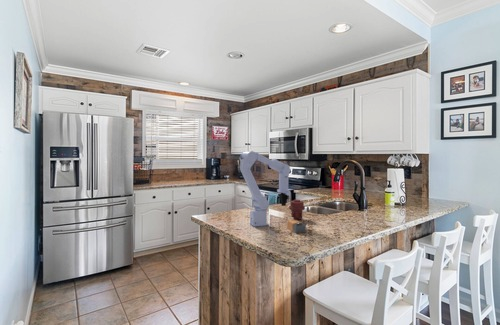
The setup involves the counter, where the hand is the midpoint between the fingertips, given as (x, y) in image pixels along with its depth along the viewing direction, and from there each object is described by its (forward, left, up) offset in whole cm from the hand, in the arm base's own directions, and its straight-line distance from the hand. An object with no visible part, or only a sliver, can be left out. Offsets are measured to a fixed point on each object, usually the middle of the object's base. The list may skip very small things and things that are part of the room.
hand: (283, 205), depth 166 cm
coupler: (-2, -19, -10) cm, 22 cm away
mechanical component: (+11, +3, -10) cm, 15 cm away
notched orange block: (-2, -18, -10) cm, 21 cm away
